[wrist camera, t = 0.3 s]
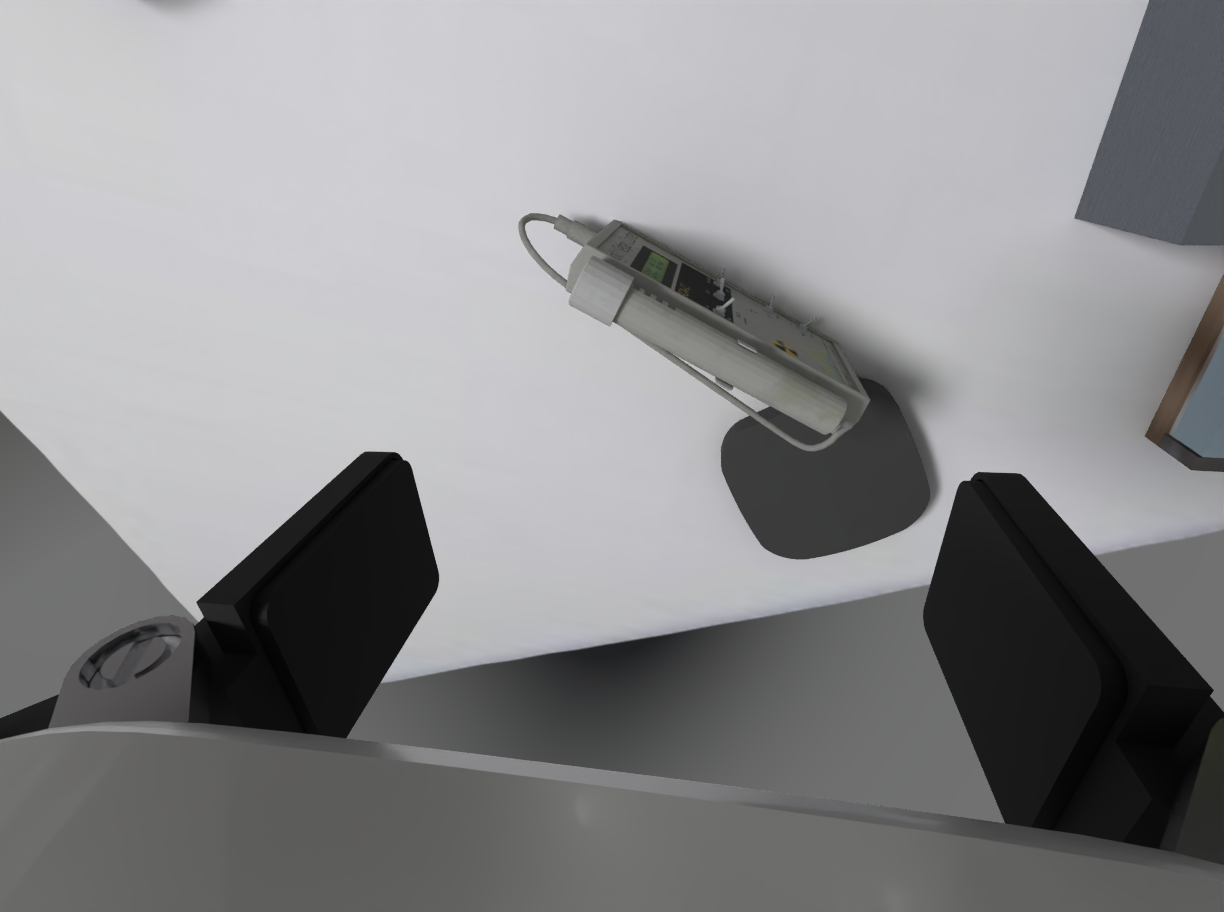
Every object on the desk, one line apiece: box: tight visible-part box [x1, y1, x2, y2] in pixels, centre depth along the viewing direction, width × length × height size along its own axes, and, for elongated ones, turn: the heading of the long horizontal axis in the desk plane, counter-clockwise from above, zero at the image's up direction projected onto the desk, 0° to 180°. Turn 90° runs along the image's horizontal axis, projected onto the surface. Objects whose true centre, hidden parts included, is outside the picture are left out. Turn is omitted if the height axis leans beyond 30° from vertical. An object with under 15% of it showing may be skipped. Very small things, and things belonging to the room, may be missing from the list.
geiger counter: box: [518, 213, 870, 451], centre depth 38 cm, size 14×6×25 cm
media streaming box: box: [721, 378, 930, 559], centre depth 48 cm, size 15×15×3 cm
